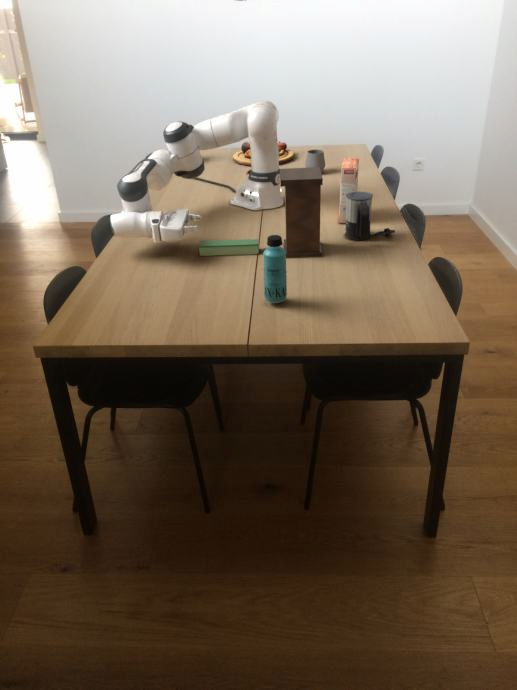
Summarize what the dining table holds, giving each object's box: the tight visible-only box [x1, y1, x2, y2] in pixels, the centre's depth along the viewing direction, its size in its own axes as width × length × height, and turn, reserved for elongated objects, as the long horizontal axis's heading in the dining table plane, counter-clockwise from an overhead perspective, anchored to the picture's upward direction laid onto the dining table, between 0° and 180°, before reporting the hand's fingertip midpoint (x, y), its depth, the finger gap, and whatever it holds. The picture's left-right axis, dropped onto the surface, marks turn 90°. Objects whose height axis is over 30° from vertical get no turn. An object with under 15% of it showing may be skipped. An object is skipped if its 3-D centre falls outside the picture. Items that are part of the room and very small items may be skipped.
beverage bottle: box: [262, 234, 288, 304], centre depth 160 cm, size 6×7×20 cm
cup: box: [305, 149, 326, 174], centre depth 271 cm, size 10×9×10 cm
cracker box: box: [338, 157, 360, 224], centre depth 215 cm, size 14×6×21 cm, turn 168°
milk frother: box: [344, 190, 396, 241], centre depth 200 cm, size 14×16×15 cm
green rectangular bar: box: [198, 238, 260, 257], centre depth 196 cm, size 20×5×4 cm, turn 89°
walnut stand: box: [280, 167, 324, 259], centre depth 190 cm, size 13×13×26 cm
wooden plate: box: [232, 141, 295, 167], centre depth 298 cm, size 32×32×8 cm
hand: (199, 223), depth 192 cm, fingers open, 8 cm apart
